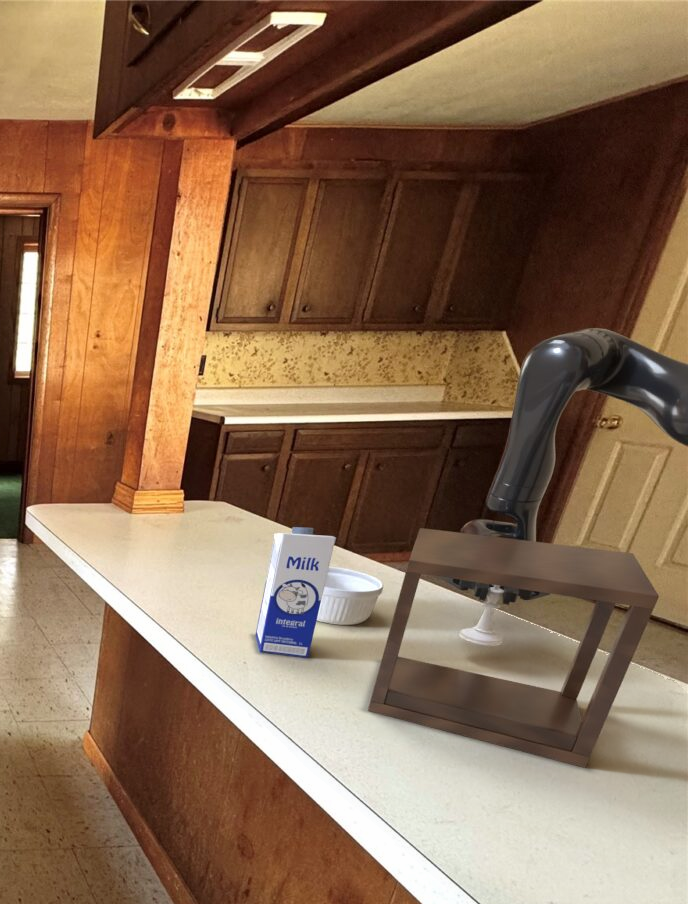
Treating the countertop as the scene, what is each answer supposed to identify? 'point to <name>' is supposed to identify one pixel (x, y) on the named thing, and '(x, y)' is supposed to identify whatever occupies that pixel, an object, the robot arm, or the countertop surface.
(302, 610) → the milk carton
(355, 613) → the ramekin
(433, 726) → the rack
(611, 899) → the countertop surface
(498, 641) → the chess piece
